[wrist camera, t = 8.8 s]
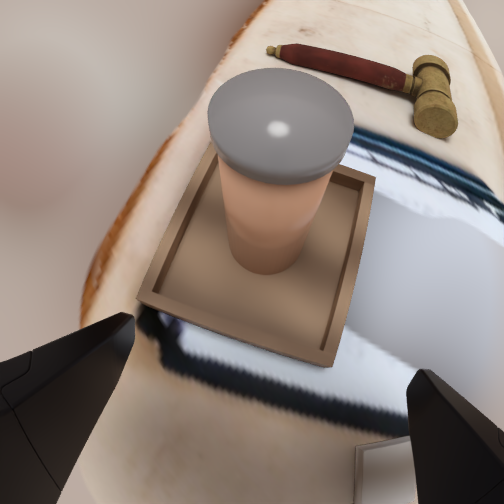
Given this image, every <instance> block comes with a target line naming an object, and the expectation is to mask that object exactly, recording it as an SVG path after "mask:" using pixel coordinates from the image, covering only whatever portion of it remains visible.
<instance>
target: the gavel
mask: <svg viewBox="0 0 504 504" xmlns="http://www.w3.org/2000/svg"><path fill="white" fill-rule="evenodd" d="M266 51H267V53H268V54H275V55H276V57H277V58H281V59H283V60H285V61H287V62H289V63H291V64H294V65H298V66H303V67H308V68H312V69H317V70H321V71H325V72H330V73H334V74H338V75H342V76H346V77H350V78H353V79H357V80H361V81H364V82H368V83H371V84H374V85H378V86H381V87H384V88H387V89H390V90H397V91H402V92H405V93H410V95H413V96H415V97H417V100H416V102H415V105H414V122H415V125H416V127H417V129H419V130H420V131H422V132H424V133H426V134H428V135H431V136H433V137H435V138H446V137H448V136H450V135H452V134H453V133H454V132H455V131H456V129H457V127H458V119H457V112H456V108H455V105H454V104H453V102H452V98H451V92H450V87H449V86H450V82H451V79H450V74H449V69H448V67H447V65H446V63H445V62H444V61H443V60H442V59H440V58H438V57H436V56H433V55H424V56H421V57H419V58H417V59H416V60H415V62H414V64H413V76H411V75H408V74H406V73H404V72H402V71H400V70H398V69H396V68H393V67H390V66H387V65H384V64H380V63H377V62H374V61H370V60H367V59H363V58H359V57H356V56H352V55H348V54H344V53H340V52H336V51H331V50H327V49H322V48H317V47H312V46H307V45H302V44H289V45H278V46H277V48H275V47H273V46H268V47H267V49H266Z"/></svg>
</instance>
